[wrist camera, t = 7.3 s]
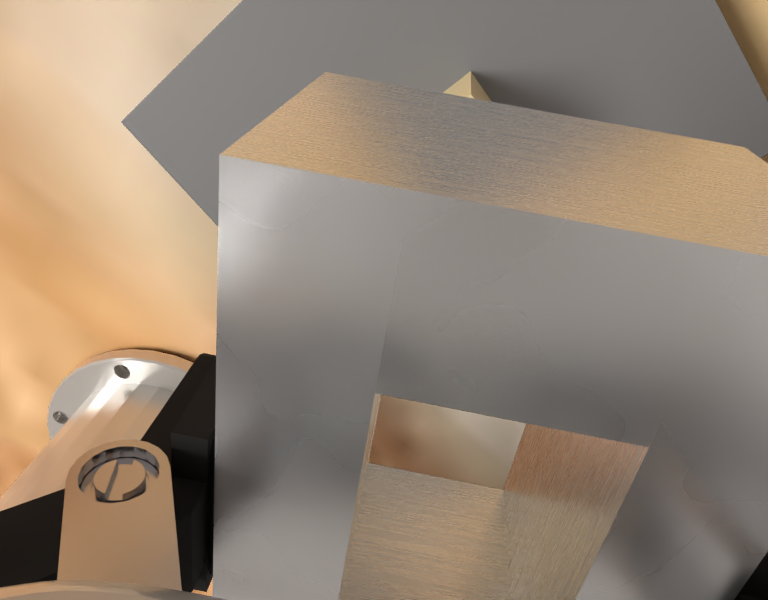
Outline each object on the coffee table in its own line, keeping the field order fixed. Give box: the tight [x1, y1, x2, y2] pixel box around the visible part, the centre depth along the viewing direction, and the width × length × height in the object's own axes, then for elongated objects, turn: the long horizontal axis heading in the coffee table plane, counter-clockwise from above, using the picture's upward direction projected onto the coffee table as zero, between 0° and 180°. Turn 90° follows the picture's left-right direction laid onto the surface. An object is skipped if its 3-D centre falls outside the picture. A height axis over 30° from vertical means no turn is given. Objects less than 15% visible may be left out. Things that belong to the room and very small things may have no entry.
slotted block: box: [213, 72, 768, 600], centre depth 11 cm, size 11×7×5 cm, turn 171°
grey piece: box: [121, 0, 768, 226], centre depth 23 cm, size 20×16×6 cm
